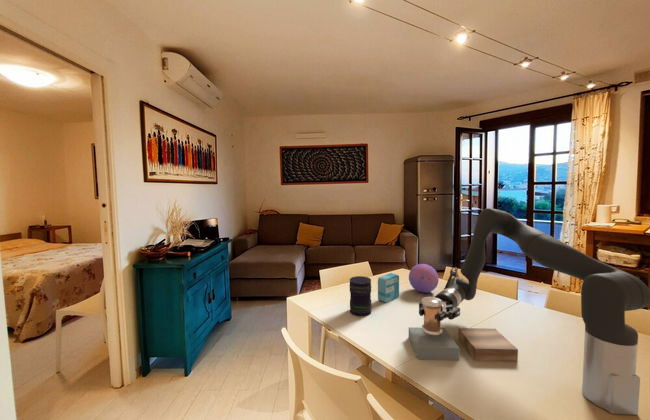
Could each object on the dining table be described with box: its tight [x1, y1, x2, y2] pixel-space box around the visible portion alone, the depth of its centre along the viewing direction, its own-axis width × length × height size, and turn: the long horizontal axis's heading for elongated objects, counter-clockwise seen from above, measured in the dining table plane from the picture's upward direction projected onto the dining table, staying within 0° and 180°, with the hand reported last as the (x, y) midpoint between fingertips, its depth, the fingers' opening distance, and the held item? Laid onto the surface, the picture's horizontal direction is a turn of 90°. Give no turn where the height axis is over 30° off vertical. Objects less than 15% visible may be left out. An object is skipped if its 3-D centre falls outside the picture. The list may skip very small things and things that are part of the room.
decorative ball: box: [408, 263, 439, 294], centre depth 146 cm, size 15×15×15 cm
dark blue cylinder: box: [349, 275, 372, 318], centre depth 124 cm, size 10×10×15 cm
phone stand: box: [443, 266, 460, 290], centre depth 148 cm, size 9×6×12 cm, turn 57°
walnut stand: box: [457, 327, 519, 362], centre depth 93 cm, size 13×13×4 cm
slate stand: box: [408, 326, 460, 361], centre depth 95 cm, size 13×13×4 cm
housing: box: [421, 296, 443, 336], centre depth 94 cm, size 7×7×11 cm
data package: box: [377, 272, 400, 304], centre depth 138 cm, size 12×4×12 cm, turn 131°
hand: (429, 315), depth 92 cm, fingers closed on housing, 5 cm apart
